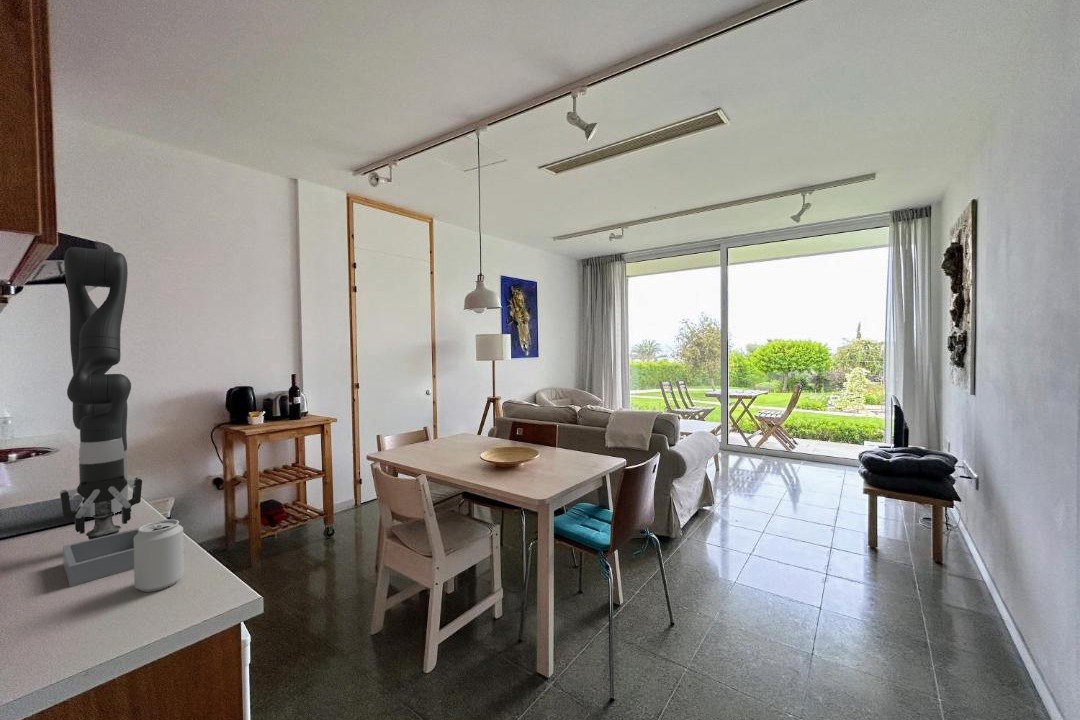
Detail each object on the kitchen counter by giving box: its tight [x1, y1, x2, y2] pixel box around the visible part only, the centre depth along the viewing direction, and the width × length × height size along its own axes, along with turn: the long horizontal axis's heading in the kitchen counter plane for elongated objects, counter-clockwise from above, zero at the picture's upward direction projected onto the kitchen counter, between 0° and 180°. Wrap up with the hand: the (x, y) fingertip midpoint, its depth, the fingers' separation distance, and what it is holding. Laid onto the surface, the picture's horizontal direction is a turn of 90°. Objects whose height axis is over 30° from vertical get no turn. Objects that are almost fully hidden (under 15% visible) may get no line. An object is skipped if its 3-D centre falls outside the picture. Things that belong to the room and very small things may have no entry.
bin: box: [62, 527, 140, 587], centre depth 96 cm, size 14×14×4 cm
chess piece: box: [85, 500, 122, 540], centre depth 104 cm, size 6×6×12 cm
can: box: [133, 519, 185, 593], centre depth 88 cm, size 8×8×12 cm
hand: (103, 527), depth 104 cm, fingers open, 6 cm apart
